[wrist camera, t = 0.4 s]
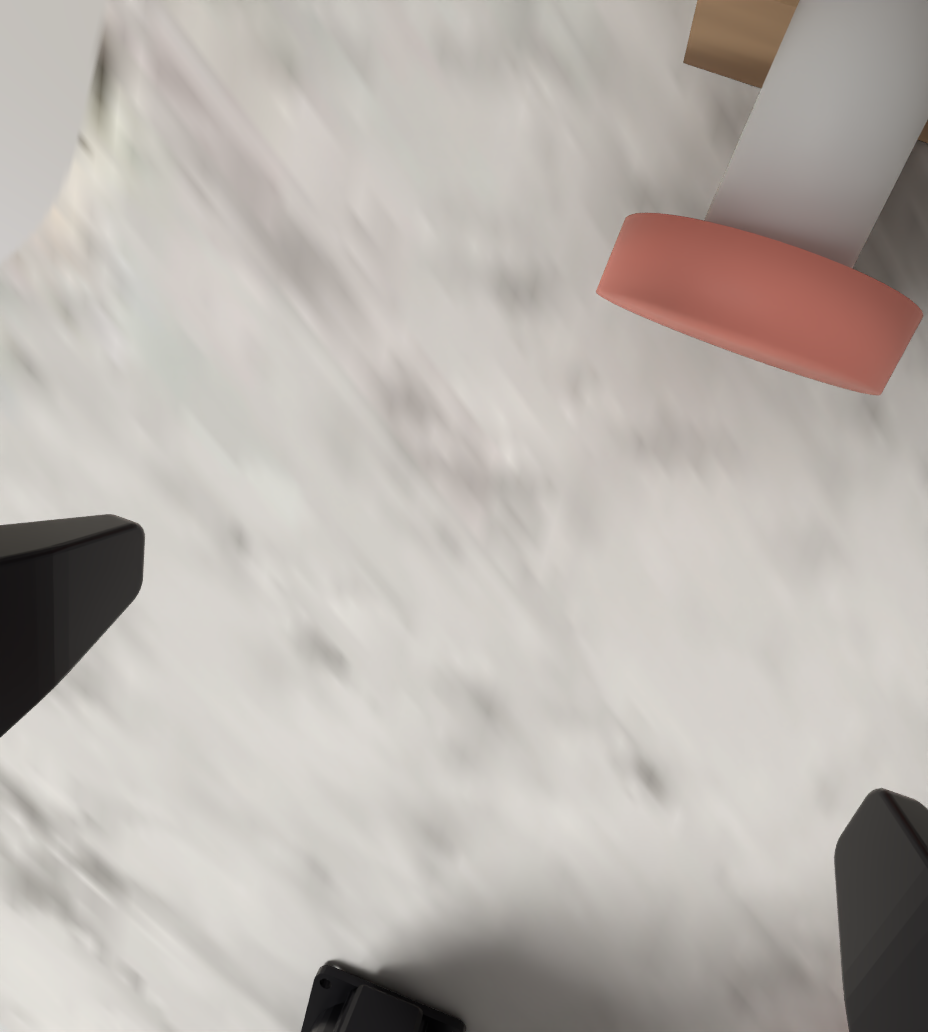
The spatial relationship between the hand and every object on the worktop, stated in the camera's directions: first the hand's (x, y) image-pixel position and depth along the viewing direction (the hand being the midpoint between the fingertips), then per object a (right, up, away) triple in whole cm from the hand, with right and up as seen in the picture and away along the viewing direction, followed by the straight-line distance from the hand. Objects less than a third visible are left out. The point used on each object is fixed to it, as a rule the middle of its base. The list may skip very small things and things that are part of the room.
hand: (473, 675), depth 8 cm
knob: (+7, +10, +8) cm, 15 cm away
